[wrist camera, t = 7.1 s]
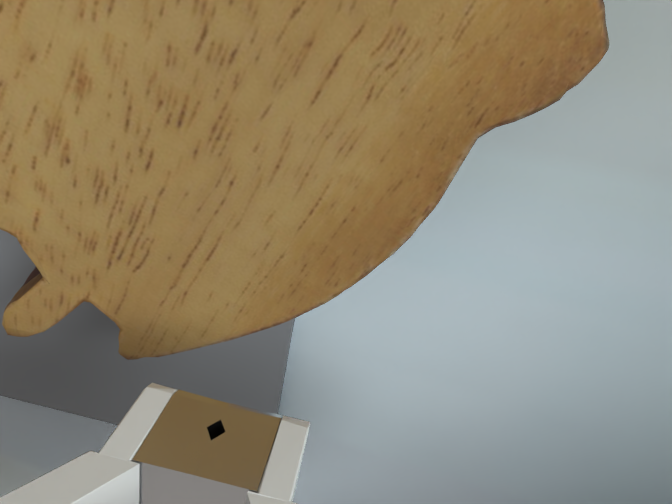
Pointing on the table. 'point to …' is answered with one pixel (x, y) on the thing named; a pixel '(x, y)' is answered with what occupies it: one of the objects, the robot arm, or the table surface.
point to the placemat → (119, 373)
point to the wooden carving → (249, 145)
